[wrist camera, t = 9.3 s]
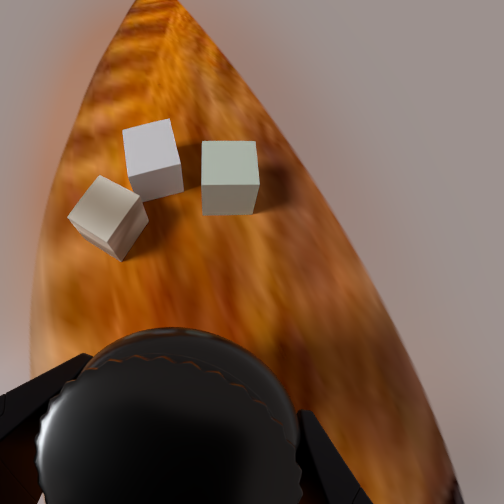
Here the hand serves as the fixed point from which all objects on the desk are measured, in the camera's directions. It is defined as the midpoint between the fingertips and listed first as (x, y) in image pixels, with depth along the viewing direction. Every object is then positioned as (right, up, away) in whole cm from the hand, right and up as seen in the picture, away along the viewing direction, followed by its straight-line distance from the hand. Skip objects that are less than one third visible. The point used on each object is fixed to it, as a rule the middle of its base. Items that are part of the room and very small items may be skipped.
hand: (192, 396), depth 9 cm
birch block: (-9, +6, +15) cm, 18 cm away
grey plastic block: (-6, +11, +17) cm, 21 cm away
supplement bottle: (-1, -4, +6) cm, 7 cm away
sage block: (0, +9, +17) cm, 19 cm away
